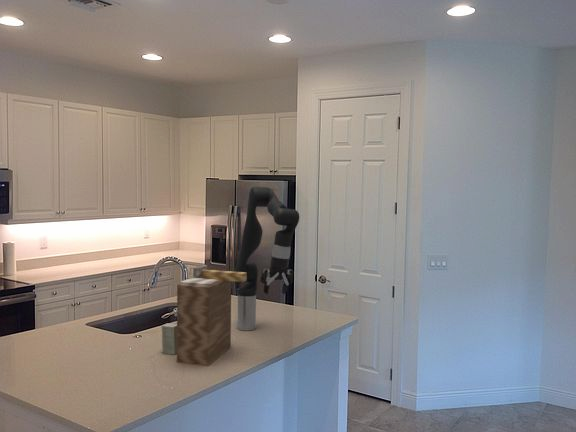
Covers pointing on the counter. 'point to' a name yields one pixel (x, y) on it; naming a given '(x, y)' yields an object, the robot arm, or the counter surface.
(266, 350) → the counter surface
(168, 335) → the skincare box
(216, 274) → the wood block with plate
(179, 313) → the zigzag wood block
